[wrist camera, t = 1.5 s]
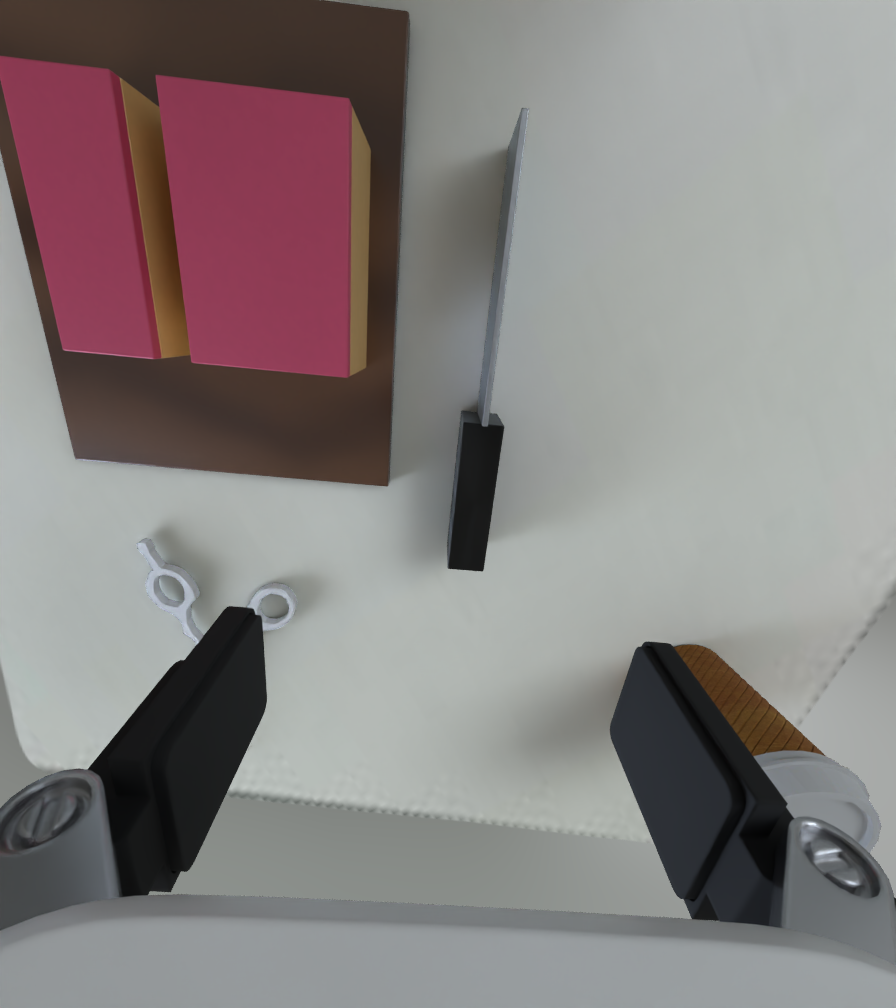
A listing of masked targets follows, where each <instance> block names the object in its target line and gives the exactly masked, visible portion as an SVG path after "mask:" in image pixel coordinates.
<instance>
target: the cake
mask: <svg viewBox="0 0 896 1008" xmlns="http://www.w3.org/2000/svg"><path fill="white" fill-rule="evenodd" d="M156 84H157V92H158V100H159V108H160V116H161V124H162V132H163V139H164V147H165V155H166V163H167V171H168V179H169V187H170V195H171V203H172V211H173V219H174V227H175V235H176V243H177V251H178V259H179V267H180V275H181V283H182V291H183V299H184V307H185V315H186V322H187V330H188V338H189V346H190V354H191V362H192V363H199V364H209V365H219V366H230V367H240V368H251V369H261V370H271V371H282V372H292V373H303V374H313V375H324V376H334V377H344V378H347V377H349V376H351V375H353V374H355V373H357V372H359V371H361V370H363V369H365V368H366V354H367V306H368V259H369V211H370V164H371V149H370V147H369V144H368V142H367V140H366V137H365V135H364V133H363V130H362V128H361V125H360V123H359V121H358V118H357V116H356V114H355V111H354V109H353V107H352V105H351V102H350V100H349V98H344V97H335V96H327V95H319V94H311V93H303V92H294V91H286V90H278V89H270V88H261V87H253V86H245V85H237V84H229V83H220V82H212V81H204V80H196V79H188V78H179V77H171V76H163V75H156Z"/></svg>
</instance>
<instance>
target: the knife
mask: <svg viewBox="0 0 896 1008" xmlns="http://www.w3.org/2000/svg"><path fill="white" fill-rule="evenodd" d="M528 113H529V109H527V108H522V109H521V112H520V115H519V118H518V121H517V124H516V126H515V129H514V132H513V135H512V138H511V141H510V144H509V147H508V155H507V164H506V172H505V180H504V189H503V197H502V206H501V214H500V222H499V231H498V239H497V248H496V256H495V264H494V273H493V281H492V290H491V298H490V306H489V315H488V323H487V332H486V340H485V348H484V357H483V365H482V374H481V382H480V391H479V399H478V407H477V412H470V411H461V418H460V427H459V437H458V446H457V456H456V465H455V475H454V485H453V494H452V504H451V513H450V523H449V532H448V542H447V558H448V569H459V570H472V571H483V570H484V563H485V556H486V549H487V542H488V535H489V528H490V522H491V515H492V508H493V501H494V494H495V487H496V480H497V473H498V466H499V459H500V452H501V446H502V439H503V432H504V425H503V423H502V422H501V420H500V418H499V417H498V415H497V414H491V413H490V405H491V397H492V390H493V382H494V374H495V367H496V359H497V351H498V344H499V336H500V328H501V321H502V313H503V305H504V298H505V290H506V282H507V274H508V267H509V259H510V251H511V244H512V236H513V228H514V221H515V213H516V205H517V198H518V190H519V182H520V174H521V167H522V159H523V151H524V144H525V136H526V128H527V121H528Z"/></svg>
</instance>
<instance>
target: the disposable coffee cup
mask: <svg viewBox="0 0 896 1008" xmlns="http://www.w3.org/2000/svg"><path fill="white" fill-rule="evenodd" d="M674 648H675V650H676V651H677V653H678V654H679V655H680V657H681V658H682V659H683V661H684V662H685V663H686V665H687V666H688V668H689V669H690V670H691V672H692V673H693V674H694V676H695V677H696V679H697V680H698V681H699V683H700V684H701V685H702V687H703V688H704V690H705V691H706V692H707V694H708V695H709V696H710V698H711V699H712V700H713V702H714V703H715V705H716V706H717V707H718V709H719V710H720V711H721V713H722V714H723V716H724V717H725V718H726V720H727V721H728V722H729V724H730V725H731V727H732V728H733V729H734V731H735V732H736V733H737V735H738V736H739V737H740V739H741V740H742V742H743V743H744V744H745V746H746V747H747V748H748V750H749V751H750V753H751V754H752V755H753V757H754V758H755V759H756V761H757V762H758V764H759V765H760V766H761V768H762V769H763V770H764V772H765V773H766V774H767V776H768V777H769V779H770V780H771V781H772V783H773V784H774V785H775V787H776V788H777V790H778V791H779V792H780V794H781V795H782V796H783V798H784V799H785V801H786V802H787V803H788V805H787V806H786V808H787V809H788V810H789V812H790V813H791V815H792V816H793V817H794V819H795V818H797V817H804V816H809V817H813V818H816V819H820V820H823V821H825V822H827V823H829V824H831V825H833V826H835V827H837V828H839V829H840V830H842V831H843V832H845V833H846V834H848V835H849V836H851V837H852V838H853V839H854V840H855V841H857V842H858V843H859V844H860V845H861V846H862V847H864V848H865V849H866V850H867V851H868V852H869V853H870V851H871V850H872V849H873V847H874V846H875V844H876V843H877V841H878V839H879V834H880V830H881V823H880V820H879V816H878V814H877V812H876V811H875V809H874V807H873V806H872V805H871V803H870V801H869V794H868V792H867V789H866V786H865V784H864V783H863V782H862V781H861V780H860V779H859V777H858V776H857V775H855V774H854V773H853V772H852V771H850V770H849V769H848V768H846V767H844V766H841V765H840V764H839V763H837V762H835V761H834V760H832V759H831V758H828V757H826V756H825V755H824V754H823V753H822V752H821V751H820V750H819V749H818V748H817V747H816V746H815V745H813V744H812V743H811V742H810V741H809V740H808V739H807V738H806V737H805V736H804V735H803V734H802V733H801V732H800V731H798V730H797V729H796V728H795V727H794V726H793V725H792V724H791V723H790V722H789V721H788V720H786V719H785V717H784V716H782V715H781V714H780V713H779V712H778V711H777V710H776V709H775V708H774V707H773V706H771V705H770V704H769V703H768V702H767V700H766V699H764V698H763V697H762V696H761V695H760V694H759V693H758V692H757V691H755V690H754V689H753V687H751V686H750V685H749V684H748V683H747V682H746V681H745V680H744V679H742V678H741V677H740V675H739V674H737V673H736V672H735V671H734V670H733V669H732V668H731V667H729V665H728V664H726V663H725V662H724V661H723V660H722V659H721V658H720V657H719V656H718V655H717V654H716V653H715V652H713V651H712V650H711V649H708V648H706V647H703V646H699V645H682V646H677V647H674Z"/></svg>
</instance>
